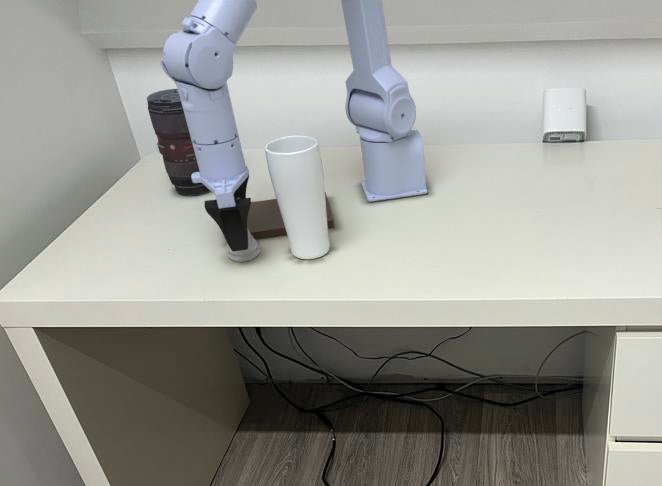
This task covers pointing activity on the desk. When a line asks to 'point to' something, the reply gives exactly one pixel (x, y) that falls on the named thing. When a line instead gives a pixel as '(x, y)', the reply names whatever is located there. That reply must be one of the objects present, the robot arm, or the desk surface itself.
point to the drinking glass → (300, 193)
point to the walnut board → (272, 219)
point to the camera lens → (174, 141)
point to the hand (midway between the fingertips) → (239, 237)
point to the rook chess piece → (244, 254)
